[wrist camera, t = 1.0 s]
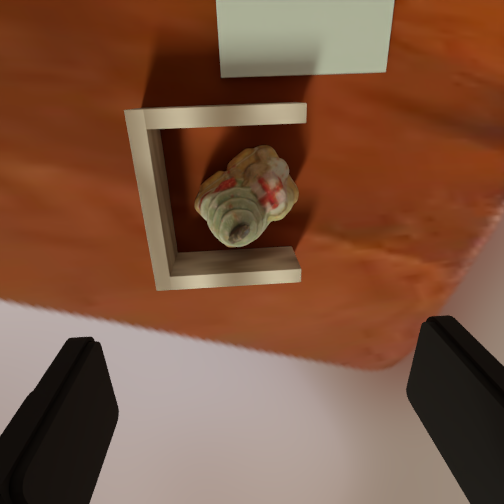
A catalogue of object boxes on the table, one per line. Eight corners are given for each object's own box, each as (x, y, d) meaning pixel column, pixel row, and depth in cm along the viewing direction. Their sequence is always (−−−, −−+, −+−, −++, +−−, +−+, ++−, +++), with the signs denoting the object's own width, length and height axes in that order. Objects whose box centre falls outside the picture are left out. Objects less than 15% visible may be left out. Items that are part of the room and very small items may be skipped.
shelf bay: (294, 102, 26) (306, 103, 22) (291, 257, 31) (300, 281, 27) (140, 107, 25) (123, 110, 21) (166, 265, 31) (156, 290, 27)
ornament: (257, 128, 26) (272, 144, 17) (304, 184, 29) (339, 225, 19) (187, 194, 28) (167, 241, 19) (236, 243, 30) (239, 304, 21)
